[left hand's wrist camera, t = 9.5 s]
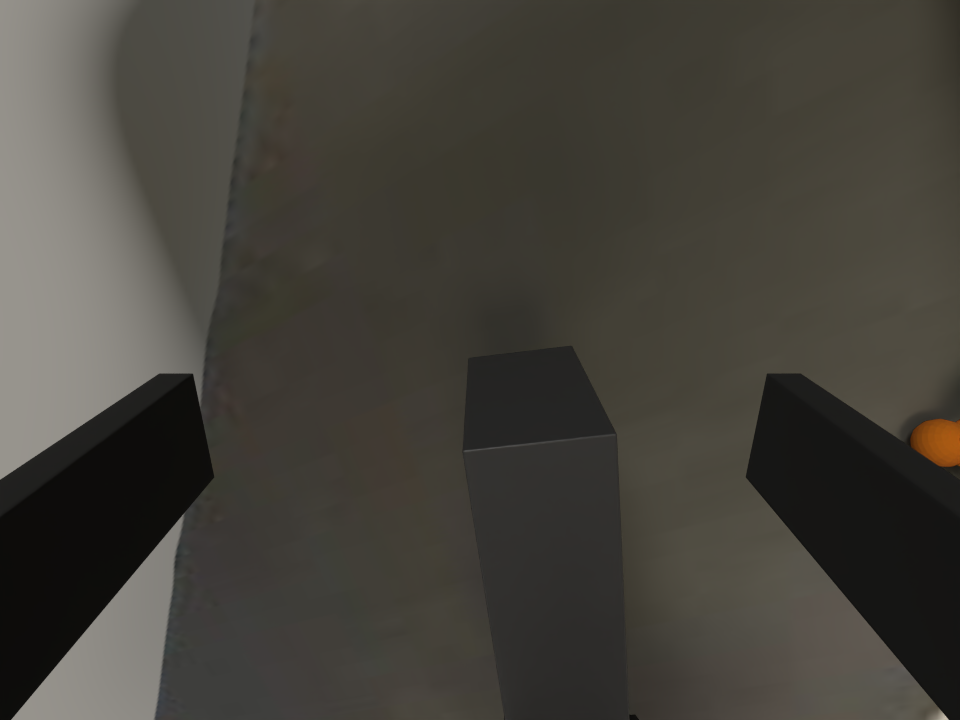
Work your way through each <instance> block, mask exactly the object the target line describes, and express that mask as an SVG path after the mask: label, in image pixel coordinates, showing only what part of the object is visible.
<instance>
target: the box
mask: <svg viewBox="0 0 960 720" xmlns="http://www.w3.org/2000/svg"><path fill="white" fill-rule="evenodd" d="M463 457H464V464H465V470H466V476H467V483H468V489H469V495H470V502H471V508H472V514H473V521H474V527H475V533H476V540H477V546H478V552H479V559H480V565H481V571H482V578H483V584H484V590H485V596H486V603H487V609H488V615H489V622H490V628H491V634H492V641H493V647H494V653H495V660H496V666H497V672H498V679H499V685H500V691H501V698H502V704H503V710H504V717H505V720H629V701H628V678H627V655H626V633H625V610H624V587H623V565H622V542H621V519H620V496H619V474H618V451H617V434H616V432H615V430H614V428H613V426H612V424H611V422H610V420H609V418H608V416H607V414H606V412H605V410H604V408H603V406H602V404H601V402H600V400H599V399H598V397H597V395H596V393H595V391H594V389H593V387H592V385H591V383H590V381H589V379H588V377H587V375H586V373H585V371H584V369H583V367H582V365H581V363H580V361H579V359H578V357H577V355H576V353H575V351H574V349H573V347H572V346H565V347H557V348H549V349H540V350H532V351H524V352H515V353H507V354H499V355H490V356H482V357H473V358H469V359H468V375H467V391H466V406H465V422H464V438H463Z"/></svg>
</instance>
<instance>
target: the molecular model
mask: <svg viewBox="0 0 960 720" xmlns="http://www.w3.org/2000/svg"><path fill="white" fill-rule="evenodd" d="M910 442H911V447H912V448H913V449H914V450H916V451H917V452H919V453H920V454H922V455H923V456H925V457H926V458H928V459H929V460H931V461H932V462H934V463H935V464H937V465H938V466H943V467H951V466H955V465H958V466H960V419H959V420H958V421H956V422H952V421H948V420H944V419H935V420H929V421H925V422H923V423H921V424H920V425H919V426H917V427H916V428H915V429H914V430H913V433H912V435H911V438H910Z"/></svg>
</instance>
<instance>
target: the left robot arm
mask: <svg viewBox="0 0 960 720" xmlns="http://www.w3.org/2000/svg"><path fill="white" fill-rule="evenodd" d="M213 478H214V474H213V469H212V464H211V459H210V454H209V449H208V444H207V440H206V435H205V430H204V425H203V420H202V415H201V411H200V406H199V401H198V396H197V391H196V386H195V381H194V377H193V374H158V375H157V376H155V377H154V378H152V379H151V380H149V381H148V382H146V383H145V384H143V385H142V386H140V387H139V388H137V389H136V390H134V391H133V392H131V393H130V394H128V395H127V396H125V397H124V398H122V399H121V400H119V401H118V402H116V403H115V404H113V405H112V406H110V407H109V408H107V409H106V410H104V411H103V412H101V413H100V414H98V415H97V416H95V417H94V418H92V419H91V420H89V421H88V422H86V423H85V424H83V425H82V426H80V427H79V428H77V429H76V430H74V431H73V432H71V433H70V434H68V435H67V436H65V437H64V438H62V439H61V440H59V441H58V442H56V443H55V444H53V445H52V446H50V447H49V448H47V449H46V450H44V451H43V452H41V453H40V454H38V455H37V456H35V457H34V458H32V459H31V460H29V461H28V462H26V463H25V464H23V465H22V466H20V467H19V468H17V469H16V470H14V471H13V472H11V473H10V474H8V475H7V476H5V477H4V478H2V479H1V480H0V720H11V719H12V718H13V717H14V716H15V714H16V713H17V712H18V711H19V710H20V708H21V707H22V706H23V705H24V704H25V702H26V701H27V700H28V699H29V698H30V696H31V695H32V694H33V693H34V692H35V691H36V689H37V688H38V687H39V686H40V685H41V683H42V682H43V681H44V680H45V679H46V677H47V676H48V675H49V674H50V673H51V671H52V670H53V669H54V668H55V667H56V665H57V664H58V663H59V662H60V661H61V659H62V658H63V657H64V656H65V655H66V653H67V652H68V651H69V650H70V649H71V647H72V646H73V645H74V644H75V643H76V642H77V640H78V639H79V638H80V637H81V636H82V634H83V633H84V632H85V631H86V630H87V628H88V627H89V626H90V625H91V624H92V622H93V621H94V620H95V619H96V618H97V616H98V615H99V614H100V613H101V612H102V610H103V609H104V608H105V607H106V606H107V605H108V603H109V602H110V601H111V600H112V599H113V597H114V596H115V595H116V594H117V593H118V591H119V590H120V589H121V588H122V587H123V585H124V584H125V583H126V582H127V581H128V579H129V578H130V577H131V576H132V575H133V574H134V572H135V571H136V570H137V569H138V568H139V566H140V565H141V564H142V563H143V561H144V560H145V559H146V558H147V557H148V556H149V554H150V553H151V552H152V551H153V550H154V548H155V547H156V546H157V545H158V544H159V542H160V541H161V540H162V539H163V538H164V536H165V535H166V534H167V533H168V532H169V530H170V529H171V528H172V527H173V526H174V525H175V523H176V522H177V521H178V520H179V518H180V517H181V516H182V515H183V514H184V513H185V511H186V510H187V509H188V508H189V507H190V505H191V504H192V503H193V502H194V501H195V499H196V498H197V497H198V496H199V495H200V493H201V492H202V491H203V490H204V489H205V488H206V486H207V485H208V484H209V483H210V482H211V480H212V479H213ZM746 478H747V479H748V480H749V482H750V483H751V484H752V485H753V486H754V488H755V489H756V490H757V491H758V492H759V494H760V495H761V496H762V497H763V498H764V499H765V501H766V502H767V503H768V504H769V505H770V507H771V508H772V509H773V510H774V511H775V513H776V514H777V515H778V516H779V517H780V519H781V520H782V521H783V522H784V523H785V525H786V526H787V527H788V528H789V529H790V531H791V532H792V533H793V534H794V535H795V536H796V538H797V539H798V540H799V541H800V542H801V544H802V545H803V546H804V547H805V548H806V550H807V551H808V552H809V553H810V554H811V556H812V557H813V558H814V559H815V560H816V562H817V563H818V564H819V565H820V566H821V568H822V569H823V570H824V571H825V572H826V574H827V575H828V576H829V577H830V578H831V579H832V581H833V582H834V583H835V584H836V585H837V587H838V588H839V589H840V590H841V591H842V593H843V594H844V595H845V596H846V597H847V599H848V600H849V601H850V602H851V603H852V605H853V606H854V607H855V608H856V609H857V611H858V612H859V613H860V614H861V615H862V616H863V618H864V619H865V620H866V621H867V622H868V624H869V625H870V626H871V627H872V628H873V630H874V631H875V632H876V633H877V634H878V636H879V637H880V638H881V639H882V640H883V642H884V643H885V644H886V645H887V646H888V648H889V649H890V650H891V651H892V652H893V654H894V655H895V656H896V657H897V658H898V659H899V661H900V662H901V663H902V664H903V665H904V667H905V668H906V669H907V670H908V671H909V673H910V674H911V675H912V676H913V677H914V679H915V680H916V681H917V682H918V683H919V685H920V686H921V687H922V688H923V689H924V691H925V692H926V693H927V694H928V695H929V696H930V698H931V699H932V700H933V701H934V702H935V704H936V705H937V706H938V707H939V708H940V710H941V711H942V712H943V713H944V714H945V716H946V717H947V718H948V719H949V720H960V480H959V479H958V478H956V477H955V476H953V475H952V474H950V473H949V472H947V471H946V470H944V469H943V468H941V467H940V466H938V465H937V464H935V463H934V462H932V461H931V460H929V459H928V458H926V457H925V456H923V455H922V454H920V453H919V452H917V451H916V450H914V449H913V448H911V447H910V446H908V445H907V444H905V443H904V442H902V441H901V440H899V439H898V438H896V437H895V436H893V435H892V434H890V433H889V432H887V431H886V430H884V429H883V428H881V427H880V426H878V425H877V424H875V423H874V422H872V421H871V420H869V419H868V418H866V417H865V416H863V415H862V414H860V413H859V412H857V411H856V410H854V409H853V408H851V407H850V406H848V405H847V404H845V403H844V402H842V401H841V400H839V399H838V398H836V397H835V396H833V395H832V394H830V393H829V392H827V391H826V390H824V389H823V388H821V387H820V386H818V385H817V384H815V383H814V382H812V381H811V380H809V379H808V378H806V377H805V376H803V375H802V374H767V377H766V381H765V386H764V391H763V396H762V401H761V406H760V411H759V415H758V420H757V425H756V430H755V435H754V440H753V444H752V449H751V454H750V459H749V464H748V469H747V474H746Z"/></svg>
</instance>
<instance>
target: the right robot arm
mask: <svg viewBox="0 0 960 720" xmlns="http://www.w3.org/2000/svg"><path fill="white" fill-rule="evenodd" d="M504 720H505V717H504ZM629 720H639V719H638V718H637V716H636V715H629Z"/></svg>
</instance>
